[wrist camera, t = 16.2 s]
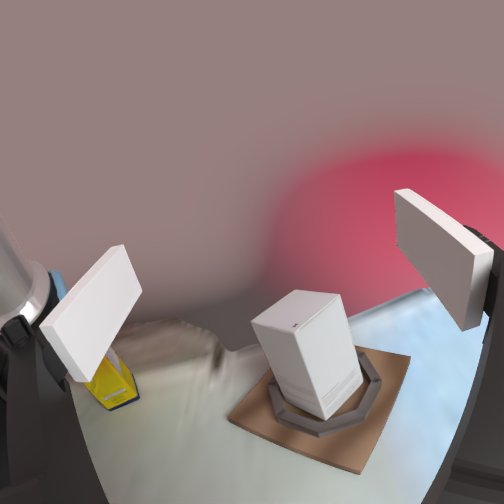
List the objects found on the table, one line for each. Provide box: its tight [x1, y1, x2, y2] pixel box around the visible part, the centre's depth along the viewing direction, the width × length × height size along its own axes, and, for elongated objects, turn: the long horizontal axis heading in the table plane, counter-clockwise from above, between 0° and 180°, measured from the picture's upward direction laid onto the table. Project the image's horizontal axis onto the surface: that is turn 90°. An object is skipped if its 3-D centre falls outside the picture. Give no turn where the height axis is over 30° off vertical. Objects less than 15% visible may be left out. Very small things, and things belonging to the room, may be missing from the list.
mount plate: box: [228, 345, 411, 475], centre depth 36 cm, size 18×18×3 cm
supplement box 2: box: [251, 290, 363, 420], centre depth 33 cm, size 7×7×13 cm
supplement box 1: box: [82, 346, 140, 411], centre depth 41 cm, size 6×6×11 cm
